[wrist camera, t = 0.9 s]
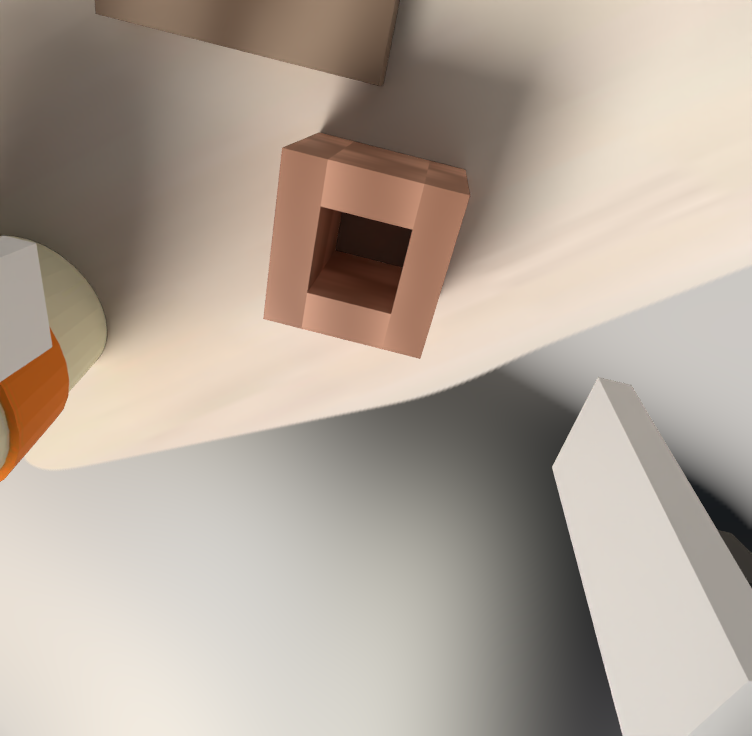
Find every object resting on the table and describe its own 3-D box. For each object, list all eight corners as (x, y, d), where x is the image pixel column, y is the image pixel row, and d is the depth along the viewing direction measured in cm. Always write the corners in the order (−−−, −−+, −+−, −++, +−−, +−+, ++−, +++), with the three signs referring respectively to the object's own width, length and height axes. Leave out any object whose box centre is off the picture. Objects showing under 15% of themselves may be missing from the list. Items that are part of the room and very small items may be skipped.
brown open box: (299, 272, 27) (263, 318, 22) (319, 132, 23) (282, 147, 18) (425, 304, 27) (420, 358, 22) (465, 169, 23) (470, 195, 18)
